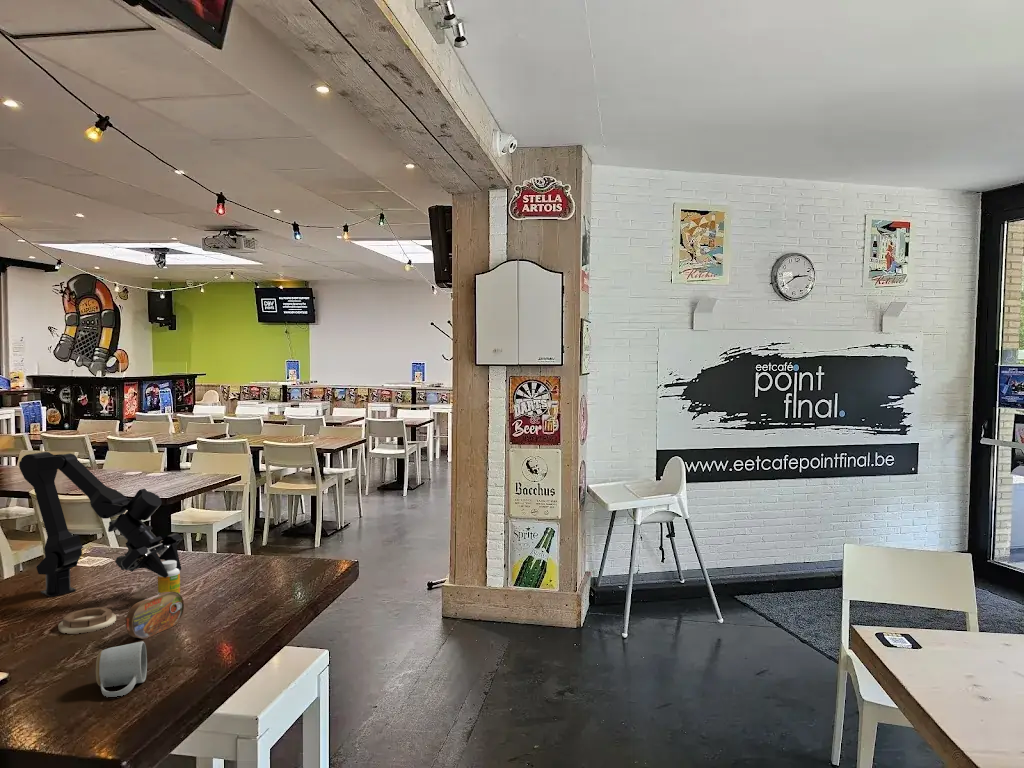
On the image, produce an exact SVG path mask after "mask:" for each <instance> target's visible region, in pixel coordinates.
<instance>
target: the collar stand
mask: <svg viewBox="0 0 1024 768" xmlns="http://www.w3.org/2000/svg"><path fill="white" fill-rule="evenodd" d="M115 621H117V615H116V613H113V611H112V609H110V608H107V607H105V606H101V607H87V608H83V609H79V610H75V611H71V612H69V613H67V614H66V615H65V616H64V617H62V621H60V622H59V623H58V631H59V633H62V634H65V633H67V635H68V634H69V635H78V634H79V633H81V634H87V632H88V633H93V632H97V631H101V630H104V629H106V628H108V626H109V627H111V626H113V625H114V624H115V623H116V622H115ZM113 623H114V624H113ZM110 625H111V626H110ZM105 627H106V628H105ZM103 628H104V629H103ZM100 629H101V630H100ZM96 630H97V631H96ZM79 635H80V634H79Z"/></svg>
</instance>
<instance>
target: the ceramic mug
mask: <svg viewBox="0 0 1024 768" xmlns="http://www.w3.org/2000/svg"><path fill="white" fill-rule="evenodd" d="M147 657H148V655H147V646H146V643H145V642H144V641H142V640H141V641H138V642H137V641H136V642H132V643H127V644H123V645H118V646H112V647H108V648H105V649H102V650H101V651H99V652H98V654H97V657H96V662H95V679H96V684H97V685H98V686H99V687H100V690H101V693H102V695H103V696H104V697H105V696H106V697H105V698H108V697H117V696H121V697H123V695H124V696H126V695H127V694H128V693H130V692H131V691H132V690H133V689H134V687H135V685H136V684H142V683H144V682H145V681H146V679H147V672H148V671H147V669H148V658H147ZM113 686H114V687H119V686H125V687H123V688H122V689H119V690H117V691H116V690H115V691H109V690H106V689H105V688H112V687H113ZM117 698H118V697H117Z"/></svg>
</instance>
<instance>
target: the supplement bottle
mask: <svg viewBox="0 0 1024 768" xmlns="http://www.w3.org/2000/svg"><path fill="white" fill-rule="evenodd" d="M162 563H163V565H164V567H165V569H166V571H167V573H168V576H167V577H166V578H164V577H162V576H160V575H158V574H157V595H158V594H160V593H163V592H177V593H179V594H180V595H181V575H180V574H181V570H180V571H179V569H177V568H176V567H177V561H175V560H167V561H165V560H162Z"/></svg>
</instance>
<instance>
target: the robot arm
mask: <svg viewBox="0 0 1024 768" xmlns="http://www.w3.org/2000/svg"><path fill="white" fill-rule="evenodd" d="M18 463H19V464H18V467H19V470H20V473H21V474H22V476H23V479H24V480H25V481H27V482H28V483H29V485H31V486H32V488H33V490H34V492H35V493H34V494H35V498H36V501H37V504H38V505H37V506H38V508H39V511H40V515H41V518H42V522H43V525H44V529H45V532H46V537H47V538H46V541H45V545H44V548H43V549H44V556H45V557H44V558H43V559H42V560H41V561H40V562H39V563H38V565H37V566H36V571H37V574H38V575H45V589H43V590H41V591H40V594H42V595H45V596H46V597H47V596H48V597H49V598H53V597H56V596H61V595H64V594H68V593H72V592H76V591H77V589H76V588H74V587H72V586H71V568H75V567H77V566H78V563H79V560H80V559H81V556H82V555H83V551H82V549H84V546H83V545H82V543H81V537H80V535H79V534H75V535H74V534H72V533H71V532H70V531H69V529H68V525H67V523H66V518H65V515H64V511H63V508H62V507H63V506H62V504H61V501H60V497H59V494H58V493H59V492H58V489H57V486H56V483H55V480H56V476H57V474H58V470H59V471H60V472H61V473H62V474H63V475H64V476H65V477H67V478H68V479H69V481H70V482H72V483H73V484H74V485H75V486H76V487H77V488H78V489H79V490H80V491H81V492H82V493H83V494H85V496H86V497H87V498H88V500H89V501H90V506H91V508H92V510H93V511H94V512H95V514H96V515H97V516H98V517H99V518H101V519H110V518H114V517H117V518H115V519H113V520H110V521H108V522H109V523H108V525H109V526H108V528H107V529H108V530H107V532H109V533H110V532H115V531H118V532H119V533H120V535H121V536H122V537H124V539H126V543H125V547H126V548H127V549H128V550H127V552H125V553H124V555H120V556H116V559H115V564H116V565H117V566H118V568H120V570H122V571H124V570H125V571H126V572H127V571H129V572H134V571H135V570H138V569H147V570H149V571H151V572H153V573H155V574H157V576H158V575H160V576H162V577H164V578H166V577H167V576H168V573H167V571H166V569H165V567H164V565H163V563H162V562H163V561H167V560H175V561H177V567H176V568H177V569H179V571H180V572H181V570H182V565H181V560H180V556H179V553H178V545H179V543H180V542H181V541H182V540H183V537H182V536H181V535H180V534H179V533H176V532H175V533H172V534H169V535H166V536H165V538H163V537H162V536H156V535H155V534H154V533H153V531H152V530H153V527H152V525H146V524H145V523H144V522H143V521H148V519H149V518H150V517H151V516H152V515H153V514H154V513H155V512H156V510H158V509H159V507H160V506H161V505H162V503H163V502H162V498H161V497H160V496H159V495H158V494H155V493H154V492H152V491H148V490H147V489H146V488H140V489H138V490H137V492H136V494H135V495H134V496H133V497H132V498H127V496H125V495H124V494H123V493H121V492H120V491H118V490H116V489H114V488H111V487H109V486H107V485H106V484H104V483H103V482H102V481H101V480H100V479H98V478H97V477H96V475H94V474H93V473H92V472H91V471H90V470H89V469H88V468H87V467H86V466H85V465H84V464H83V463H82V462H81V461H80V460H79V459H78V457H77V455H76V454H74V453H70V452H69V453H62V454H60V453H58V454H53V453H51V452H49V451H43V452H42V451H41V452H36V453H30V454H29V453H28V454H25V455H23V456H22V457H21V459H20V461H19V462H18Z"/></svg>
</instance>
